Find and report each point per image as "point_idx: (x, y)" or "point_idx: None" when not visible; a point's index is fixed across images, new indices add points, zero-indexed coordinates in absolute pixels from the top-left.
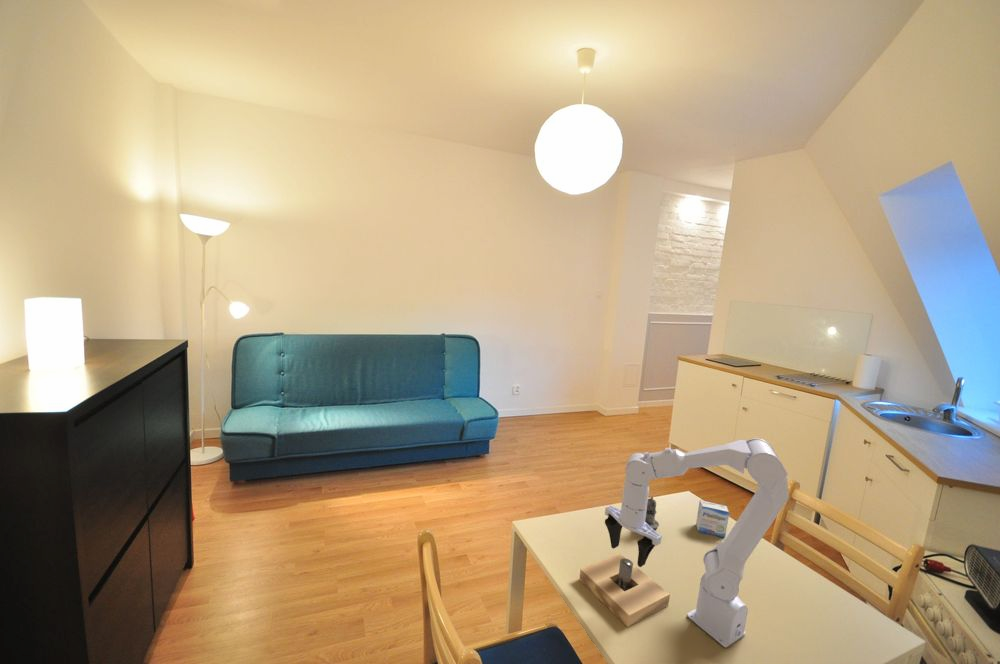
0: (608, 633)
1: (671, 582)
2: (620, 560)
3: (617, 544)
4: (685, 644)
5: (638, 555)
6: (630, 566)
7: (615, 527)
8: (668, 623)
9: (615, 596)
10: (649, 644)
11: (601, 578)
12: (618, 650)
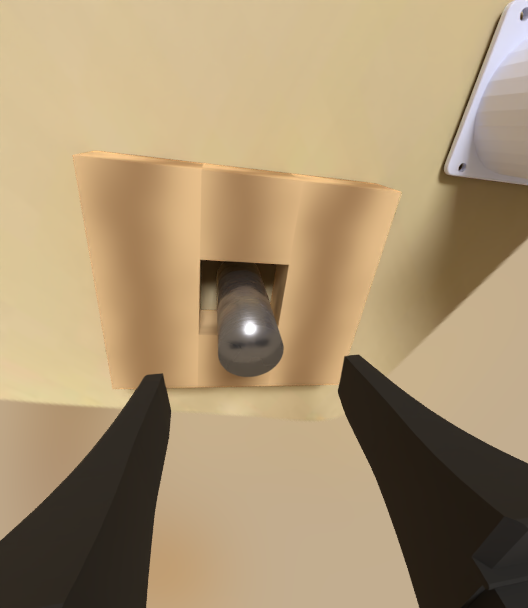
0: (305, 400)
1: (332, 4)
2: (224, 367)
3: (163, 395)
4: (456, 276)
5: (370, 464)
6: (280, 355)
7: (134, 597)
8: (400, 255)
9: (272, 372)
10: (384, 349)
11: (188, 359)
12: (342, 408)
